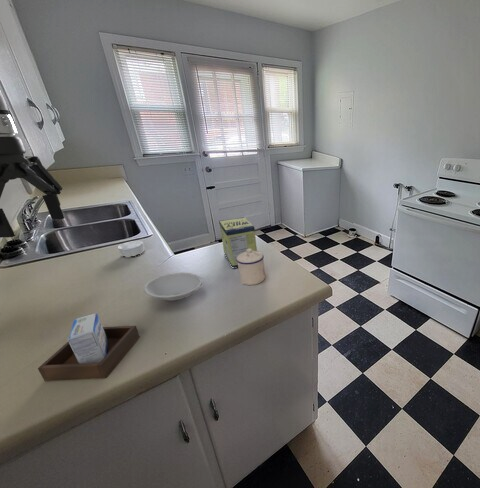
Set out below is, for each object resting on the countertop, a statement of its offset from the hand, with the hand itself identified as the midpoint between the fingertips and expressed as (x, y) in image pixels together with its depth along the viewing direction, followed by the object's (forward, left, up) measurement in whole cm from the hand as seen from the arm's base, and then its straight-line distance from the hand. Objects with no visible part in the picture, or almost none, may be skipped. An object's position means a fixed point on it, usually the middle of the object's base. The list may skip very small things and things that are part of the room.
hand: (35, 227), depth 68 cm
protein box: (+40, +34, -27) cm, 59 cm away
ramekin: (-7, +42, -26) cm, 50 cm away
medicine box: (+18, -17, -26) cm, 36 cm away
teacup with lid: (+47, +18, -27) cm, 57 cm away
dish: (+26, +7, -27) cm, 38 cm away
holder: (+18, -17, -27) cm, 36 cm away
